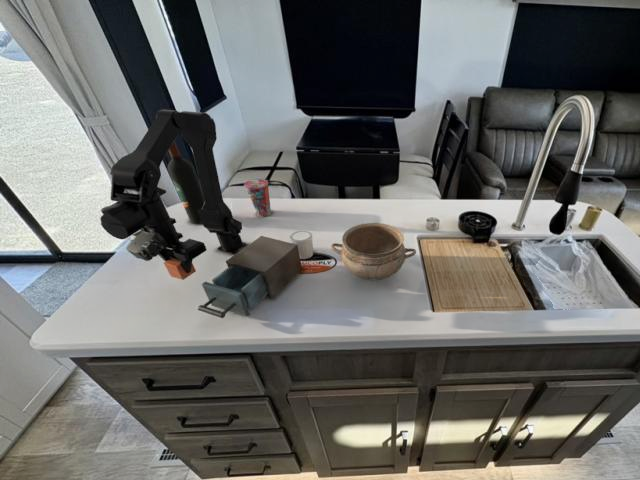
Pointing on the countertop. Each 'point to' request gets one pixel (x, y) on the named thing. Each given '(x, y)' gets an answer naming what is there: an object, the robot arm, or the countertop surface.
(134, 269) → the countertop surface
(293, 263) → the cabinet
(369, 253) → the cooking pot
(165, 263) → the block
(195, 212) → the wine bottle
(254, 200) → the cup
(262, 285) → the drawer
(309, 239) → the white short cylinder
